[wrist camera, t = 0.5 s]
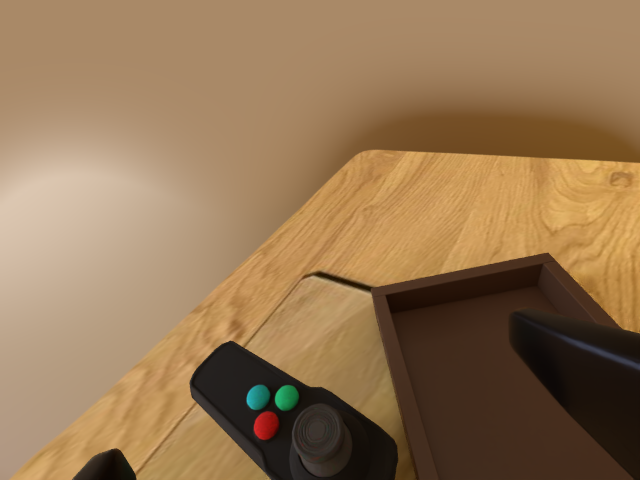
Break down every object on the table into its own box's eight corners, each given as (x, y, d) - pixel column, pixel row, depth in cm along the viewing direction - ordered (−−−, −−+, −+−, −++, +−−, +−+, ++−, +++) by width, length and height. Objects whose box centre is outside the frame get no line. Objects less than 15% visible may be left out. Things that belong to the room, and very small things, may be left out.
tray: (888, 687, 11) (978, 695, 9) (475, 719, 12) (481, 731, 11) (540, 279, 27) (548, 252, 25) (375, 312, 28) (370, 287, 26)
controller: (383, 589, 16) (346, 550, 10) (226, 439, 23) (149, 362, 17) (420, 497, 18) (409, 418, 12) (267, 387, 25) (213, 303, 19)
